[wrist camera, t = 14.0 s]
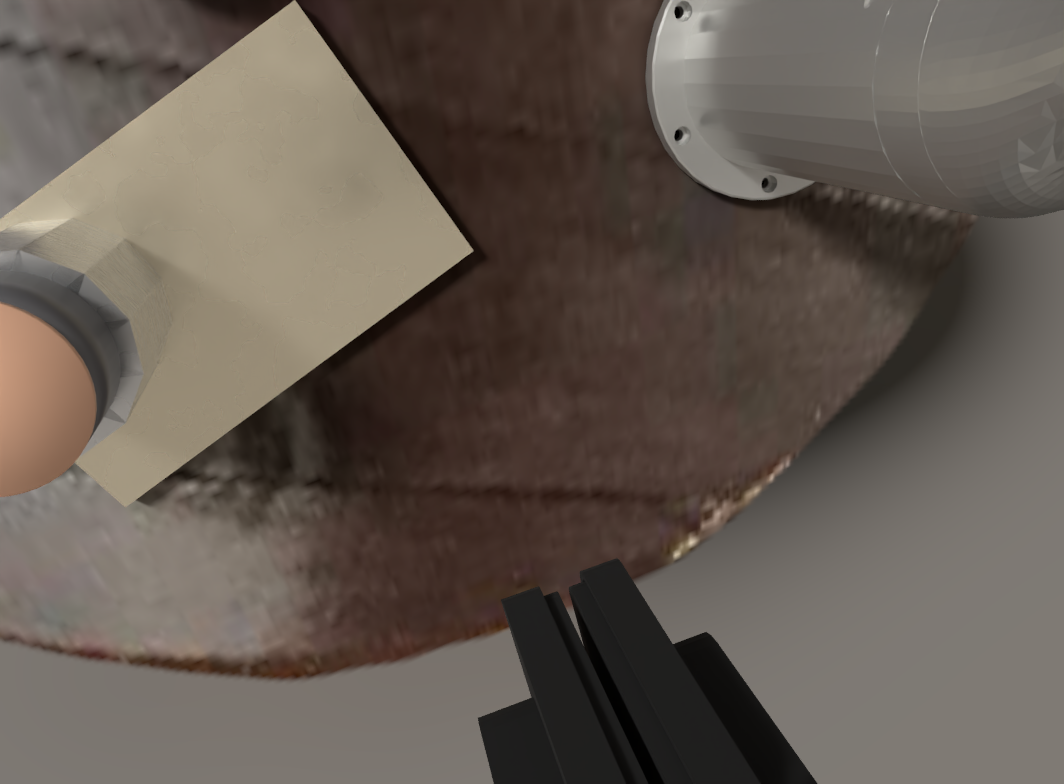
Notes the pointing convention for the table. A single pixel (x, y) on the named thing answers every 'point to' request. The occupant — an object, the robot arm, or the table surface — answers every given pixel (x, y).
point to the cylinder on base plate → (232, 244)
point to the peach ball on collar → (49, 379)
